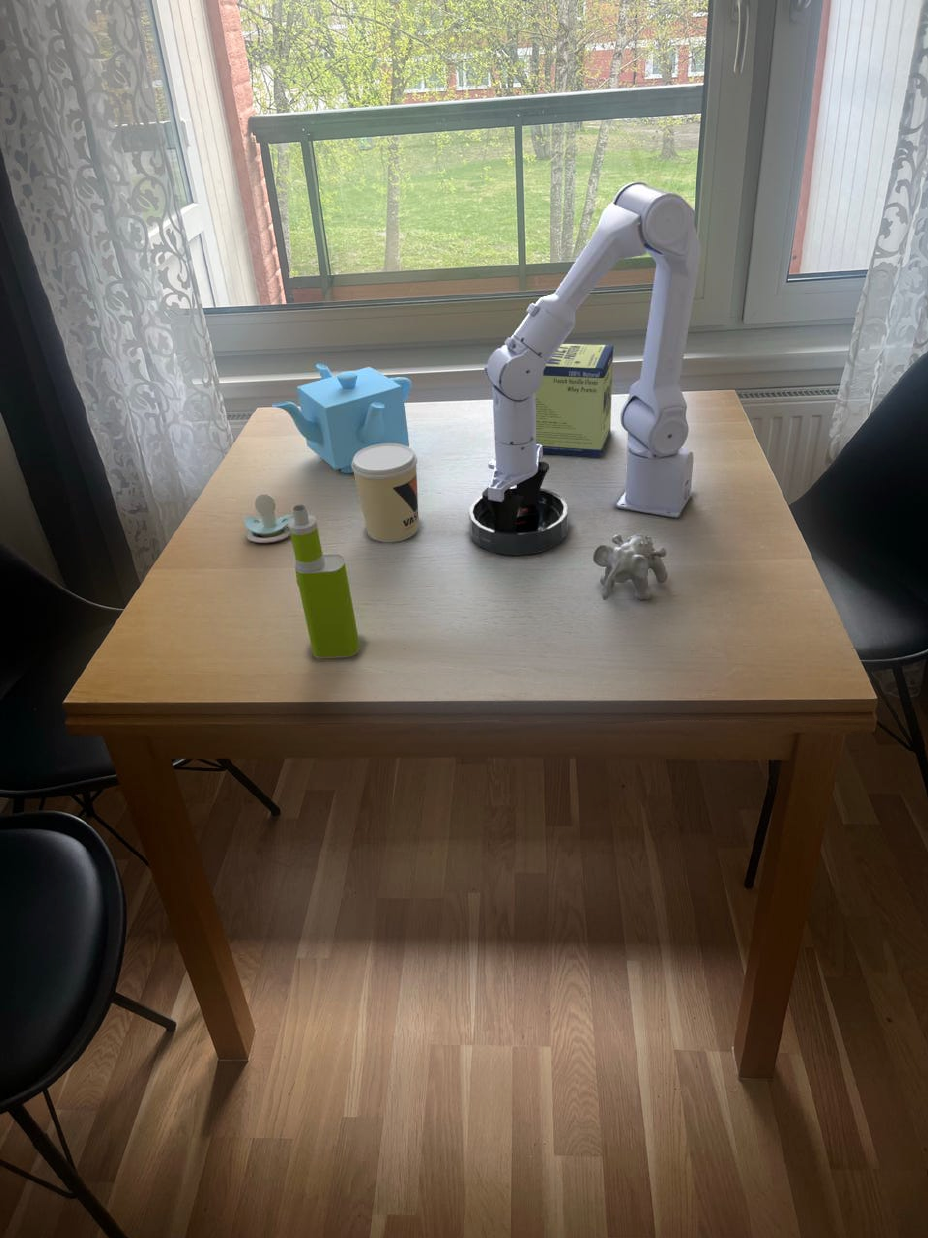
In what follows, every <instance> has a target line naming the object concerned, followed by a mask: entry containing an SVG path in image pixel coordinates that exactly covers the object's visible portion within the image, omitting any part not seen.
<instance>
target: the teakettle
mask: <svg viewBox="0 0 928 1238" xmlns="http://www.w3.org/2000/svg"><path fill="white" fill-rule="evenodd" d="M315 367H316V369H317V371H318V373H319V375H320V378H321V379H320V380H316V381H313V382H309V383H304V384H301V385H298V386H296V392H297V397H298V403H299V406H298V405H297V404H295V403H294V402H292V401H287V400H286V401H279V402H276V403H273V404H272V405H271V406H272V407H273V408H277V409H282V410H284V411H285V412H286V413H287V414H288V415H289V416H290V418H291V419H292V421H293V423H294V425H295V427H296V429H297V430H298V432H299V433H300V434H301V436H302V437H303V438H305V440H306V446H307V447H308V448H309V449H311V450H312V451H313V452H314V453H315V454H316V455H317V456H319V458H322V460H323V461H325V463H327V464H328V465H329V466H330V467H331V468H333V470H335V471H336V470H339V469H340V471H341V473H345V474H351V473H354V472H353V470H352V461H353V458H354V456H355V454H356V453H357V452H359V451H360V450H362V449H364V448H366V447H369V446H372V445H376V444H383V443H396V444H402V445H405V446H408V447H409V448H410V441H409V432H408V425H407V424H408V422H407V415H406V413H407V412H406V404H405V402H406V401H407V399H408V397H409V396H410V393H411V390H412V386H413V385H412V384H413V383H412V381H411V379H409V378H408V377H404V376H403V377H401V376H397V377H390V378H389V377H387V376H386V375H384V374H383V373H381V372H380V371H378V370H376V369H375V368H372V367H371V366H367V367H364V368H360V369H356V370H352V371H342V372H340V373H338V374H337V375H333V374H332V372H331V370H330V368H329V367H328V366H327V365H326V364H325V363H324V364H323V363H317V364H316V366H315Z"/></svg>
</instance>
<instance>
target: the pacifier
mask: <svg viewBox="0 0 928 1238" xmlns="http://www.w3.org/2000/svg"><path fill="white" fill-rule="evenodd" d="M254 506H255V509H256V512H258V514H260V516H257V515H256V516H255V515H254V516H253V515H251V516H246V517H245V518H244V520H243V524H244V526H245V527H246V529H247V530H248V531H250V532H249V533H248V534H247V535H246V537H247V540H248V541H250V542H252V543H256V544H257V543H258V544H270V543H276V542H280V541H283V540H284V539H286V538H288V537H290V531H289V529H287V527H288V522H289V520H291V519H292V518H294V516H293V513H289V514H285V515H282V516H280V517H278V518H276V513H275V511H276V500H275V499H274V498H273V496H272V495H270V494H268V493H261V494H259V495H258V496H257V497H256V499H255V501H254ZM256 535H259V536H261V537H258V536H256Z"/></svg>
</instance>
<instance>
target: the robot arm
mask: <svg viewBox="0 0 928 1238" xmlns="http://www.w3.org/2000/svg"><path fill="white" fill-rule="evenodd" d="M696 213H697V211H696V210H695V209H694V208H693V207H692V206H691V205H690V204H689V203H688V201H686V200H685V198H684V197H682V196H681V195H679V194H677V193H674V192H673V193H672V192H667V191H664V190H661V189H659V188H656V187H653V186H650V185H648V184H647V183H645V182H641V181H632V182H629V183H627V184H625V185H623V186H622V187H621V188H620V189H619V190H618V191H617V192H616V194H615V197H614V198H613V200H612V202H611V203H609V204H608V205H607V206H606V207H605V209H603V211H602V214H601V217H600V220H599V222H598V225H597V227H596V229H595V231H594V233H593V234H592V235H591V237H590V239H589V240H588V242H587V243H586V245H585V246H584V248H583V250H582V251H581V253H579V255H578V257H577V258H576V260H575V262H574V263H573V264H572V266H571V268H570V269H569V271H568V272H567V274H566V276H565V277H564V278H563V280H562V281H561V283H560V284H559V286H558V287H557V289H556V291H555V292H554V293H553V294H550V295H545V296H541V297H540V298H539V299H538V301H536V303H533V302H531V303H530V304H529V306H528V307H527V309H526V313H528V314H527V315H526V316H525V318H524V319H523V321H522V322H521V323H520V325H519V326H518V328H516V330H515V331H514V333H513V334H512V336H511V337H507V338H506V339H505V341H504V344H503V345H502V346H501V347H498V348H496V349H495V350H494V351H493V352H492V353H491V354H490V356H489V358H488V360H487V363H486V364H487V366H485V367H484V368H483V369H484V374H485V377H486V379H487V381H489V382H490V384H491V385H492V403H493V404H492V416H493V435H494V436H493V437H494V457H495V458H492V459H491V460H490V461H489V462H488V466H487V467H488V468H489V470H493V472H492V477H491V482H490V484H489V485H488V486H487V487H486V488H485V490H483V491H482V492H481V496H482V498H483V501H484V502H485V503H486V505H487V506H488V507H489V509H490V511H491V512H492V514H493V517H494V519H495V522H496V525H497V528H498V531H500V532H505V533H515V532H516V525H517V515H518V510H519V507H521V506H527V505H534V506H535V507H537V502H538V498H539V493H540V489H541V488H542V485H543V482H544V480H545V478H546V475H547V474H548V471H549V470H550V463H548V462H546V461H540V460H542V459H543V456H544V455H543V446H542V445H539V444H536V404H535V392H536V391H537V390H538V389H539V388H540V387H541V384H542V381H543V371H544V369H545V367H546V364H547V362H548V361H549V360H550V359H551V357H552V356H553V355H554V353H555V352H556V351H557V349H558V348H559V347H560V345H561V344H564V342H565V340H566V339H567V337H568V336H569V335H570V334H571V332H572V331H573V330H574V328H575V327H576V311H577V309H578V308H579V307H580V306H581V305H582V303H584V302H585V300H586V299H587V297H589V295H591V293H592V292H593V291H594V289H595V288H596V287H597V286H598V285H599V283H601V281H602V280H603V279H604V278H605V276H607V274H608V273H609V272H610V270H611V269H612V268H613V267H614V266H615V265H616V264H617V262H618V261H622V260H626V259H627V260H628V259H632V258H636V257H641V256H645V255H647V254H648V256H650V257H651V258H652V260H653V261H655V264H656V266H655V272H654V273H655V274H654V279H653V280H654V281H653V287H652V292H651V293H652V294H651V301H650V306H649V307H650V308H649V314H648V321H647V328H646V336H645V342H644V347H643V348H644V349H643V355H642V364H641V369H640V377H639V379H638V380H637V381H636V382H634V383H633V384H632V385H631V386H630V387H629V392H628V393H629V394H628V396H627V400H626V401H625V403H624V405H623V406H622V409H621V412H620V415H619V416H620V420H619V421H620V424H621V426H622V428H623V429H624V430H625V431H626V432H627V450H626V472H625V473H626V475H625V491H624V493H623V494H622V496H621V497H620V498H619V499H618V501H617V502H616V505H615V507H616V508H618V509H623V510H629V511H635V512H640V513H644V514H645V513H646V514H652V515H658V516H664V517H668V518H669V517H670V518H679V517H680V515H681V513H682V511H683V509H684V508H685V507H686V504H687V503H688V501H689V499H690V498H691V496H692V481H693V470H694V451H691V450H688V449H686V448H682V447H683V446H684V444H685V443H686V441H687V439H688V436H689V431H690V430H689V429H690V428H689V424H688V421H687V409H688V405H687V401H686V399H685V397H684V394H683V391H682V389H681V386H680V382H681V376H682V370H683V364H684V359H685V352H686V347H687V341H688V335H689V328H690V323H691V316H692V312H693V311H692V310H693V304H694V300H695V293H696V289H697V288H696V287H697V280H698V274H699V271H700V263H701V258H702V246H701V243H700V239H699V237H698V232H697V229H696V226H695V225H696V224H695V222H696V221H695V220H696ZM541 357H542V358H543V359H542V358H541ZM544 359H545V360H546V361H547V362H546V361H545V360H544ZM515 486H517V491H518V495H514V494H513V492H511V489H510V488H511V487H515Z"/></svg>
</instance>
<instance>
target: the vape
mask: <svg viewBox="0 0 928 1238" xmlns="http://www.w3.org/2000/svg"><path fill="white" fill-rule="evenodd" d="M291 511H292V515H293V518H292V519H291V520H289V522H288V525H287V527H288V531H289V532H290V534H289V536H290V539H291V544H292V549H293V554H294V561H295V563H294V571H295V577H296V584H297V587H298V590H299V594H300V599H301V603H302V608H303V614H304V618H305V622H306V626H307V627H306V628H307V632H308V636H309V641H310V645H311V650H312V654H313V656H314V658H316V659H335V658H350V657H353V656H354V655H356V654H357V653H358V651H360V639H359V635H358V629H357V623H356V616H355V611H354V605H353V601H352V594H351V588H350V583H349V577H348V572H347V565H346V559H345V557H344V555H342V554H340V553H325V554H324V552H323V550H322V544H321V539H320V533H319V529H318V521H317V520H318V519H317V518H316V517H315V516H314V515H312V514H309V513H308V507H307V506H306V505H305V504H297V505H294V506H293V507H292V508H291Z"/></svg>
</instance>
